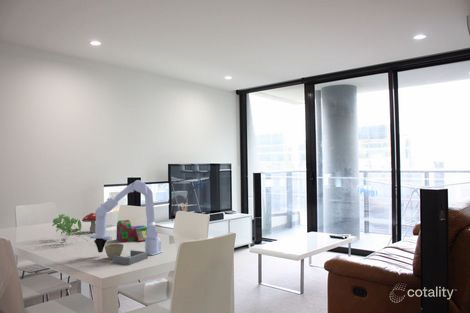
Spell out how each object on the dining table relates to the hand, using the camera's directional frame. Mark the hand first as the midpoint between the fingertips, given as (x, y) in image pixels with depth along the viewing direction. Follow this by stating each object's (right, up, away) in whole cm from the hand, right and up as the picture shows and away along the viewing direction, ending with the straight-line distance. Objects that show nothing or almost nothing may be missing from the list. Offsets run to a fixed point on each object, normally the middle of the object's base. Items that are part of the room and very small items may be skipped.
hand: (100, 252), depth 210 cm
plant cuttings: (-35, -4, +42) cm, 54 cm away
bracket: (+20, -2, -9) cm, 22 cm away
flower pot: (+9, -3, -4) cm, 10 cm away
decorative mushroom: (-33, -5, +76) cm, 83 cm away
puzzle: (+9, -4, +48) cm, 49 cm away
